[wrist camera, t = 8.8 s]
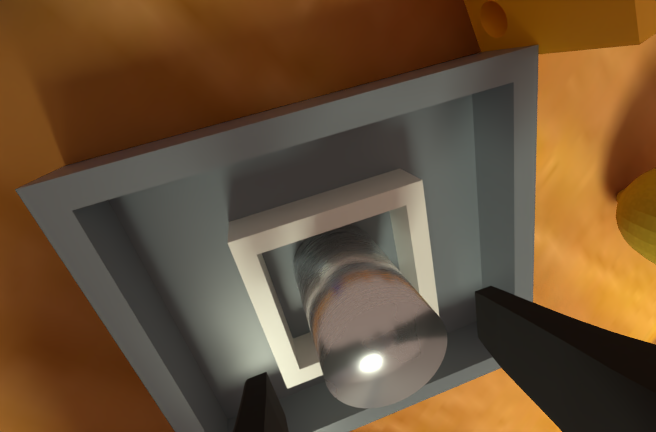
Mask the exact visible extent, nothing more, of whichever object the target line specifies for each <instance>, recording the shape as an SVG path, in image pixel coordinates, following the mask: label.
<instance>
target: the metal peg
mask: <svg viewBox="0 0 656 432" xmlns="http://www.w3.org/2000/svg"><path fill="white" fill-rule="evenodd" d="M293 271H294V276H295V280H296V283H297V287H298V290H299V294H300V297H301V300H302V304H303V307H304V311H305V314H306V318H307V321H308V325H309V328H310V331H311V335H312V338H313V342H314V345H315V349H316V352H317V356H318V359H319V363H320V366H321V369H322V373H323V376H324V380H325V383H326V386H327V387H328V389H329V391H330V392H331V393H332V395H333V396H334V397H335V398H337V399H338V400H339V401H341V402H343V403H344V404H347V405H350V406H353V407H357V408H379V407H384V406H388V405H391V404H394V403H397V402H399V401H401V400H403V399H405V398H407V397H409V396H411V395H412V394H414V393H415V392H417V391H418V390H419V389H421V388H422V387H423V386H424V385H425V384H426V383H427V382H428V381H429V380H430V379H431V378H432V377H433V375H434V374H435V373H436V371H437V370H438V368H439V367H440V365H441V363H442V361H443V358H444V356H445V352H446V348H447V332H446V328H445V325H444V323H443V321H442V320H441V318H440V317H439V316H438V315H437V313H436V312H435V311H434V310H433V309H432V308H431V307H430V305H429V304H428V303H427V302H426V301H425V300H424V298H423V297H422V296H421V295H420V294H419V293H418V292H417V290H416V289H415V288H414V287H413V286H412V285H411V283H410V282H409V281H408V280H407V279H406V278H405V277H404V275H403V274H402V273H401V272H400V271H399V270H398V268H397V267H396V266H395V265H394V264H393V263H392V262H391V260H390V259H389V258H388V257H387V256H386V255H385V253H384V252H383V251H382V250H381V249H380V248H379V247H378V245H377V244H376V243H375V242H374V241H373V240H372V238H371V237H370V236H369V235H368V234H367V233H366V232H365V231H363V230H362V229H360V228H358V227H356V226H353V225H349V224H348V225H345V226H342V227H339V228H336V229H333V230H330V231H327V232H324V233H321V234H318V235H315V236H312V237H309V238H306V239H305V240H304V241H303V243H302V244H301V245H300V247H299V249H298V250H297V253H296V255H295V259H294V265H293Z"/></svg>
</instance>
